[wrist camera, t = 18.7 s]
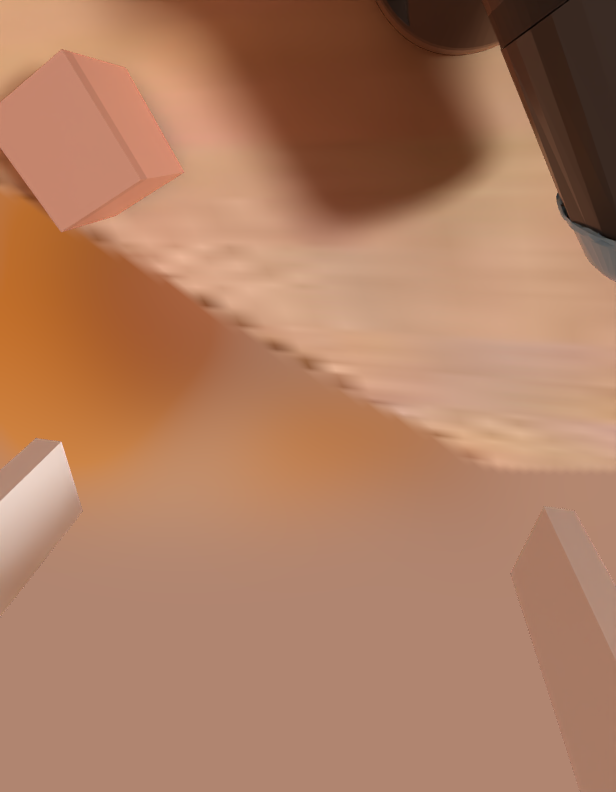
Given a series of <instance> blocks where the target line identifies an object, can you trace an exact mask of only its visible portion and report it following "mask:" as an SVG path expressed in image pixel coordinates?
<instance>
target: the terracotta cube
mask: <svg viewBox="0 0 616 792" xmlns="http://www.w3.org/2000/svg"><path fill="white" fill-rule="evenodd" d="M0 148H1V150H2V151H3V152H4V154H5V155H6V157H7V158H8V159H9V161H10V162H11V163H12V165H13V166H14V168H15V169H16V170H17V172H18V173H19V175H20V176H21V177H22V179H23V180H24V181H25V183H26V184H27V186H28V187H29V188H30V190H31V191H32V193H33V194H34V195H35V197H36V198H37V199H38V201H39V202H40V204H41V205H42V206H43V208H44V209H45V211H46V212H47V213H48V215H49V216H50V217H51V219H52V220H53V222H54V223H55V224H56V226H57V227H58V228H59V230H60V231H61V232H63V231H67V230H70V229H73V228H77V227H80V226H83V225H87V224H90V223H93V222H97V221H100V220H103V219H107V218H110V217H114V216H116V215H118V214H119V213H121V212H122V211H124V210H126V209H127V208H129V207H130V206H132V205H133V204H135V203H137V202H138V201H140V200H141V199H143V198H144V197H146V196H148V195H149V194H151V193H152V192H154V191H155V190H157V189H159V188H160V187H162V186H163V185H165V184H166V183H168V182H170V181H171V180H173V179H174V178H176V177H178V176H179V175H181V174H182V173H184V171H183V169H182V167H181V165H180V164H179V162H178V160H177V158H176V156H175V155H174V153H173V151H172V149H171V148H170V146H169V144H168V142H167V140H166V139H165V137H164V135H163V133H162V131H161V130H160V128H159V126H158V124H157V123H156V121H155V119H154V117H153V115H152V114H151V112H150V110H149V108H148V107H147V105H146V103H145V101H144V99H143V98H142V96H141V94H140V92H139V90H138V89H137V87H136V85H135V83H134V82H133V80H132V78H131V76H130V74H129V73H128V71H127V69H126V68H125V67H121V66H118V65H114V64H111V63H108V62H104V61H101V60H97V59H94V58H90V57H87V56H83V55H80V54H77V53H73V52H70V51H66V50H63V49H61V50H60V51H59V52H58V53H57V54H56V55H54V56H53V57H52V58H51V59H50V60H49V61H47V62H46V63H45V64H44V65H43V66H42V67H40V68H39V69H38V70H37V71H36V72H35V73H33V74H32V75H31V76H30V77H29V78H28V79H27V80H25V81H24V82H23V83H22V84H21V85H20V86H18V87H17V88H16V89H15V90H14V91H13V92H11V93H10V94H9V95H8V96H7V97H6V98H4V99H3V100H2V101H1V102H0Z"/></svg>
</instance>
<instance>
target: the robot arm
mask: <svg viewBox="0 0 616 792" xmlns="http://www.w3.org/2000/svg"><path fill="white" fill-rule="evenodd" d="M376 2H377V4H378V6H379V7H380V9H381V11H382V12H383V14H384V15H385V17H386V18H387V19H388V21H389V22H390V23H391V24H392V26H393V27H394V28H395V29H396V30H397V31H398V32H399V33H400V34H401V35H403V36H404V37H405V38H406V39H408V40H409V41H411V42H412V43H414V44H416V45H417V46H419V47H421V48H424V49H426V50H429V51H432V52H435V53H440V54H447V55H465V54H472V53H477V52H481V51H484V50H487V49H490V48H493V47H495V46H497V45H500V48H501V52H502V55H503V57H504V59H505V62H506V64H507V67H508V69H509V72H510V74H511V77H512V79H513V82H514V84H515V87H516V89H517V92H518V94H519V97H520V99H521V102H522V104H523V107H524V109H525V112H526V114H527V116H528V119H529V121H530V124H531V126H532V129H533V131H534V134H535V136H536V139H537V141H538V144H539V146H540V149H541V151H542V154H543V156H544V159H545V161H546V164H547V166H548V168H549V171H550V173H551V176H552V178H553V181H554V183H555V186H556V188H557V191H558V193H557V196H556V199H557V204H558V208H559V211H560V213H561V215H562V217H563V218H564V220H566V221H567V223H568V224H569V226H570V227H571V228H572V229H573V230H574V232H575V234H576V236H577V238H578V240H579V242H580V245H581V247H582V249H583V251H584V253H585V255H586V257H587V259H588V260H589V261H590V263H591V264H592V265H593V266H595V268H597V269H598V270H599V271H600V272H601V273H602V274H603V275H605V276H606V277H608V278H609V279H611V280H613V281H615V282H616V0H376ZM503 47H504V48H503ZM82 511H83V510H82V507H81V504H80V500H79V497H78V494H77V491H76V487H75V484H74V481H73V478H72V474H71V471H70V468H69V465H68V461H67V458H66V455H65V452H64V448H63V446H62V442H60V441H53V440H45V439H38V438H35V439H34V440H33V441H32V442H31V443H30V444H29V445H28V446H27V447H25V448H24V449H23V450H22V451H21V452H20V453H19V454H18V455H16V456H15V457H14V458H13V459H12V460H11V461H10V462H9V463H7V464H6V465H5V466H4V467H3V468H2V469H1V470H0V617H1V616H2V614H3V613H4V612H5V610H6V609H7V608H8V607H9V605H10V604H11V603H12V601H13V600H14V599H15V598H16V596H17V595H18V594H19V592H20V591H21V590H22V589H23V587H24V586H25V585H26V583H27V582H28V581H29V580H30V578H31V577H32V576H33V574H34V573H35V572H36V571H37V569H38V568H39V567H40V565H41V564H42V563H43V562H44V560H45V559H46V558H47V556H48V555H49V554H50V553H51V551H52V550H53V549H54V547H55V546H56V545H57V543H58V542H59V541H60V540H61V538H62V537H63V536H64V535H65V533H66V532H67V531H68V529H69V528H70V527H71V526H72V524H73V523H74V522H75V520H76V519H77V518H78V517H79V515H80V514H81V513H82ZM510 574H511V577H512V580H513V583H514V587H515V590H516V593H517V596H518V599H519V603H520V605H521V609H522V612H523V615H524V618H525V621H526V624H527V628H528V631H529V634H530V637H531V640H532V643H533V646H534V650H535V653H536V656H537V659H538V662H539V665H540V668H541V671H542V675H543V678H544V681H545V684H546V687H547V690H548V694H549V697H550V700H551V703H552V706H553V709H554V712H555V715H556V719H557V722H558V725H559V728H560V731H561V734H562V737H563V740H564V744H565V747H566V750H567V753H568V756H569V759H570V763H571V765H572V769H573V772H574V775H575V778H576V781H577V784H578V788H579V791H580V792H616V585H615V584H614V582H613V580H612V578H611V576H610V574H609V572H608V571H607V569H606V567H605V565H604V563H603V561H602V560H601V558H600V556H599V554H598V552H597V550H596V549H595V547H594V545H593V544H592V541H591V540H590V538H589V536H588V534H587V532H586V530H585V529H584V527H583V525H582V523H581V521H580V519H579V518H578V516H577V514H576V512H575V511H574V510H568V509H561V508H553V507H546V506H544V507H543V509H542V511H541V513H540V515H539V517H538V519H537V521H536V523H535V525H534V527H533V529H532V531H531V533H530V535H529V537H528V539H527V541H526V543H525V545H524V547H523V549H522V551H521V553H520V555H519V557H518V559H517V561H516V563H515V565H514V567H513V569H512V571H511V573H510Z"/></svg>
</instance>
